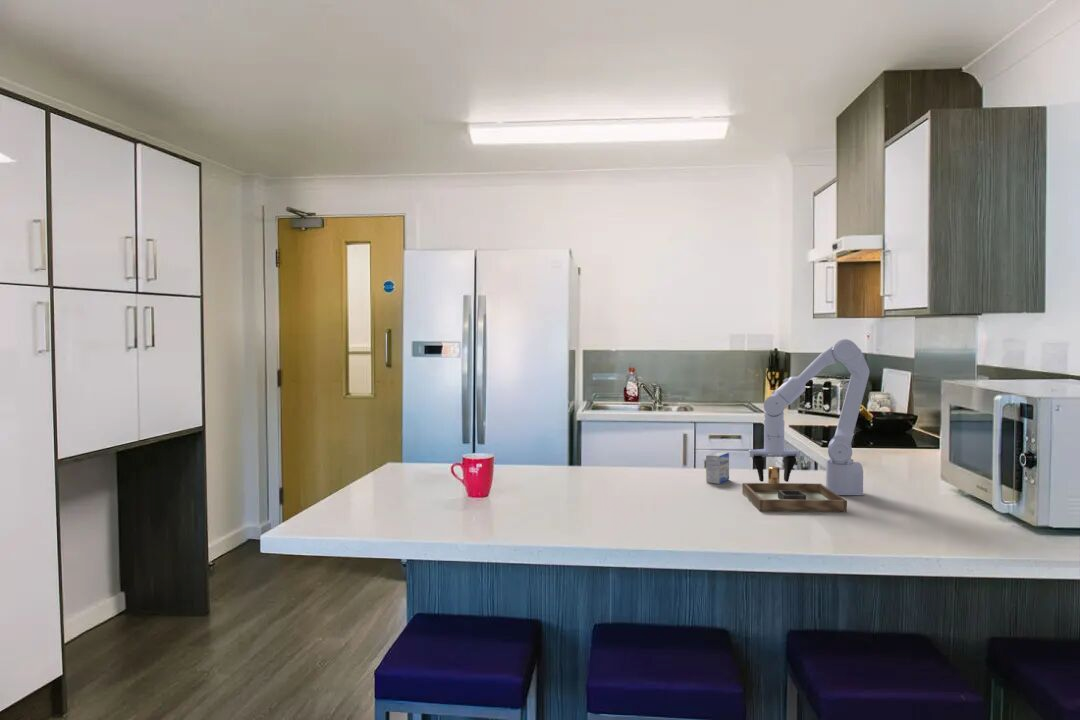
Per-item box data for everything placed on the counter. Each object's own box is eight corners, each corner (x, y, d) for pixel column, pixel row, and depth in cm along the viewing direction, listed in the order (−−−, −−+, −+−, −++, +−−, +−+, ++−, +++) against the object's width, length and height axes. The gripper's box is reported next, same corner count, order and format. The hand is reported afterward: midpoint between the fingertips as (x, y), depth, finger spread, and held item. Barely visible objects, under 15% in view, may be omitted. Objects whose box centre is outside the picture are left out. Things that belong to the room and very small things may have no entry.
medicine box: (719, 484, 211) (719, 456, 211) (705, 482, 214) (705, 454, 214) (729, 479, 218) (729, 452, 217) (715, 478, 220) (716, 451, 220)
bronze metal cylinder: (777, 486, 208) (777, 466, 208) (780, 488, 205) (780, 468, 205) (766, 486, 209) (767, 466, 208) (769, 488, 205) (769, 468, 205)
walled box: (820, 493, 198) (820, 483, 198) (846, 512, 178) (847, 500, 178) (742, 493, 200) (742, 482, 200) (759, 511, 180) (759, 499, 180)
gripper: (794, 433, 210) (794, 478, 210) (746, 433, 211) (745, 477, 211) (802, 437, 203) (801, 483, 203) (751, 437, 204) (751, 482, 204)
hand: (773, 480), depth 207 cm, fingers open, 7 cm apart
